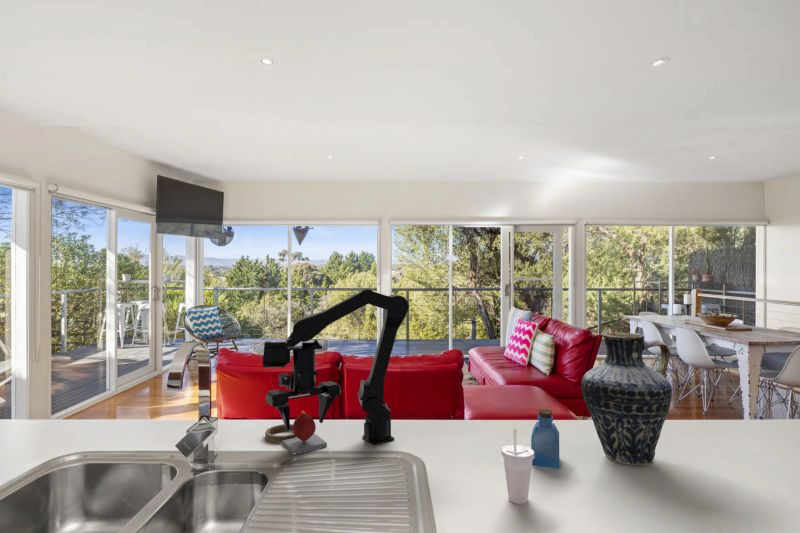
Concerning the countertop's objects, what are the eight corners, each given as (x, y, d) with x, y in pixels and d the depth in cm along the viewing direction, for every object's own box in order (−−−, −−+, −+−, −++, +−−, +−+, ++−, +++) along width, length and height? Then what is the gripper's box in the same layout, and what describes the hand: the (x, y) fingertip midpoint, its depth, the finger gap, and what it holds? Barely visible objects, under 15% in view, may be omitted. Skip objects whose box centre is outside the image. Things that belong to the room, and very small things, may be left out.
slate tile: (314, 436, 124) (314, 433, 124) (326, 446, 117) (326, 442, 117) (282, 444, 119) (282, 440, 119) (293, 454, 112) (293, 450, 112)
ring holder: (294, 427, 131) (294, 421, 131) (307, 437, 123) (307, 431, 123) (261, 434, 126) (261, 428, 126) (272, 445, 118) (272, 439, 118)
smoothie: (497, 491, 93) (497, 423, 93) (527, 490, 93) (527, 422, 94) (507, 508, 87) (507, 435, 87) (540, 506, 87) (539, 433, 87)
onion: (318, 436, 120) (317, 407, 120) (312, 446, 115) (310, 415, 114) (297, 436, 121) (296, 407, 121) (289, 445, 115) (288, 414, 115)
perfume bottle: (559, 458, 109) (558, 408, 109) (559, 469, 103) (559, 416, 103) (532, 454, 111) (532, 406, 111) (531, 465, 105) (531, 413, 106)
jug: (613, 479, 98) (612, 341, 98) (566, 444, 117) (566, 329, 118) (697, 472, 101) (696, 338, 102) (638, 439, 121) (638, 327, 121)
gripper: (323, 357, 130) (324, 411, 130) (258, 365, 119) (259, 424, 119) (341, 363, 121) (342, 422, 121) (273, 373, 110) (273, 437, 110)
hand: (304, 426), depth 118 cm, fingers open, 9 cm apart
